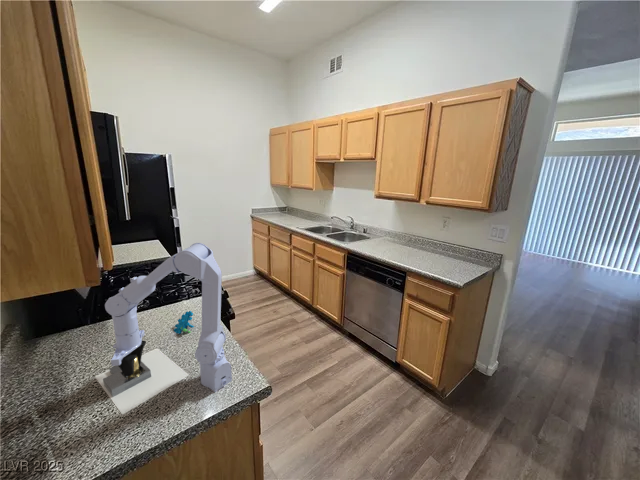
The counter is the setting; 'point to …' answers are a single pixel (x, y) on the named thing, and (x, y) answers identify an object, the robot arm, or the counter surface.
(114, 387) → the plate
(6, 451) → the counter surface
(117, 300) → the robot arm
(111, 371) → the plate
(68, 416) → the counter surface
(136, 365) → the pin
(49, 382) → the counter surface
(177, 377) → the mat
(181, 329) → the gear
